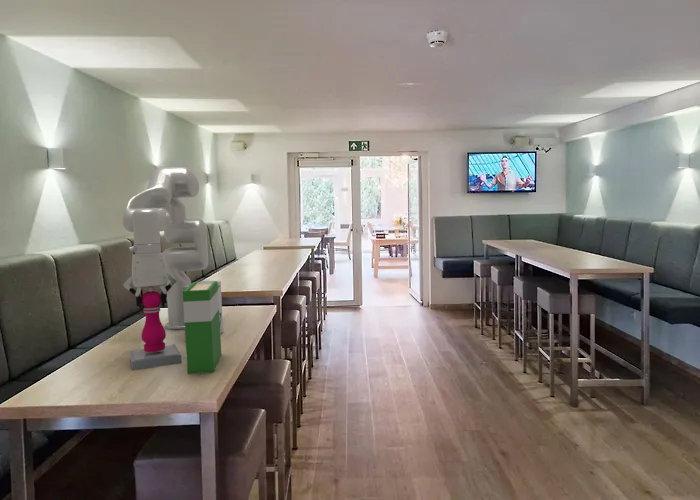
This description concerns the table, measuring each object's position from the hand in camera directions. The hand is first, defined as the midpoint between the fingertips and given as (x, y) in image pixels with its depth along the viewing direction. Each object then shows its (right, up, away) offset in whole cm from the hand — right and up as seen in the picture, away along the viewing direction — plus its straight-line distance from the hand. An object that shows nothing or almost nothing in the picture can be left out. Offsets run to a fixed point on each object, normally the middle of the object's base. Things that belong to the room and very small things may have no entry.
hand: (151, 306), depth 169 cm
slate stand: (+1, -17, +2) cm, 17 cm away
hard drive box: (+9, -14, +28) cm, 33 cm away
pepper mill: (0, -14, +1) cm, 14 cm away
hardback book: (+18, -17, -4) cm, 25 cm away
